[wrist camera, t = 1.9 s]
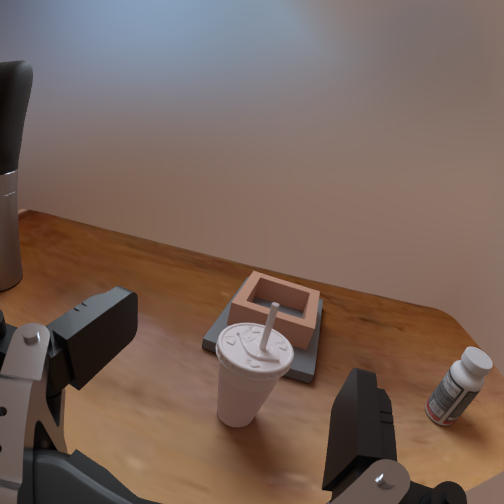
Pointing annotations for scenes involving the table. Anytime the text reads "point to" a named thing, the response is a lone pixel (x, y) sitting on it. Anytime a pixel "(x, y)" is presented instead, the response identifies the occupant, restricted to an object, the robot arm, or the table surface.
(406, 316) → the table surface
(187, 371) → the table surface
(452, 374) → the pill bottle
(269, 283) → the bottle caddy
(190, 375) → the table surface
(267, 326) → the smoothie
